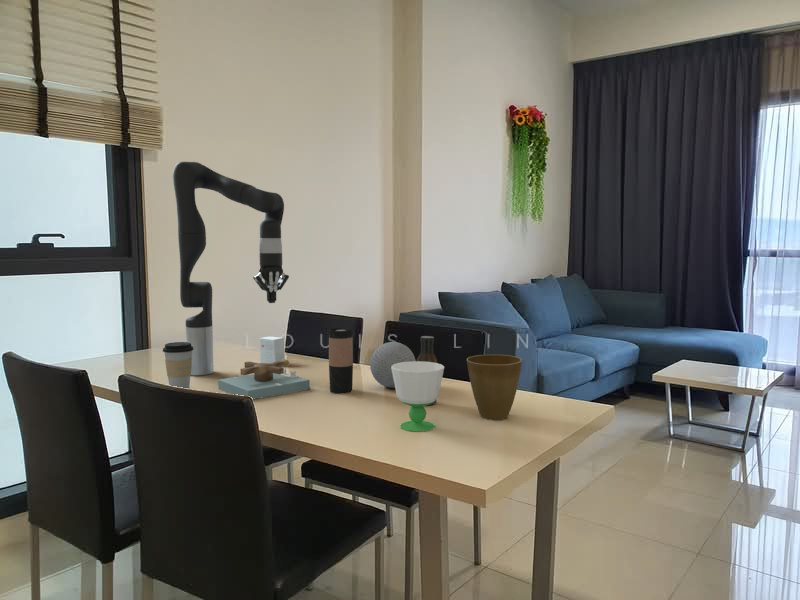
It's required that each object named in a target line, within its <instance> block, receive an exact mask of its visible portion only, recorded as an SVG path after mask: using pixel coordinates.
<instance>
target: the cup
mask: <svg viewBox="0 0 800 600" xmlns="http://www.w3.org/2000/svg"><path fill="white" fill-rule="evenodd" d="M391 369H392V374H393V379H394V384H395V388H394V389H395V394H396V397H397V398H398V400H399V401H400V402H401V403H402V404H405V405H407V406H409V407H410V408H409V411H408V417H409V419H410V420H409V421H405V422H402V423H400V425H399V427H400V428H401V429H402V430H404V431H408V432H414V433H415V432H416V433H417V432H419V433H421V432H422V431H423V432H428V431H432V430H434V429H435V428H436V425H435V424H434V423H433V422H431V421H426V420H425V419H426V416H427V410H426V409H425V407H426V406H430V405H429V404H431V403H433V402H435V401H436V399H437V400H438V397H439V394H440V391H441V385H442V380H443V376H444V372H445V371H444V370H445V366H444V365H443V364H441V363H439V362H438V363H433V362H422V361H417V360H415V361H412V362H401V363H397V364H393V365H392V367H391ZM433 428H434V429H433Z"/></svg>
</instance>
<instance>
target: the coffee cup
mask: <svg viewBox="0 0 800 600" xmlns="http://www.w3.org/2000/svg"><path fill="white" fill-rule="evenodd" d="M192 350H194V349H193V346H191V343H189V342H186V341H176V342H175V341H173V342H168V343H165V344H164V347H162V353H164V362H165V370H166V376H167V382H168V386H169V385H171V386H177V387H183V388H189V389H190V383H191V376H192V375H191V367H192Z"/></svg>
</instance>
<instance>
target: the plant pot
mask: <svg viewBox="0 0 800 600" xmlns="http://www.w3.org/2000/svg"><path fill="white" fill-rule="evenodd" d="M522 363H523V359H522V358H521V357H519V356H515V355H509V354H478V355H477V354H476V355H473V356H468V357H467V358H466V365H467V366H466V367H467V370H468V376H469V382H470V387H471V391H472V394H473V397H474V400H475V405H476V407H477V410H478V412H479V415H480V417H481V418H482V419H485V418H486V419H485V420H490V419H491V420H493V421H498V420H499V419H501V420H505V419H507V418H508V417H509V415H510V412H511V409H512V406H513V405H514V401H515V397H516V394H517V389H518V385H519V383H520V376H521V372H522V371H521V370H522ZM499 421H500V420H499Z"/></svg>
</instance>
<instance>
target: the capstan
mask: <svg viewBox="0 0 800 600" xmlns="http://www.w3.org/2000/svg"><path fill="white" fill-rule="evenodd" d="M289 365H290V361H289V360H288V359H286V358H285V360H283V361H278V362H273V363H260V362H259V363H258V362H253V361H244V367H243V368H240V372H239V373H240V375H241V376H245V375H252V374H254V380H256V381H269V380H272V379H273V373H275V374H283V373H284V371H283V368H288V367H289Z"/></svg>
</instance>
